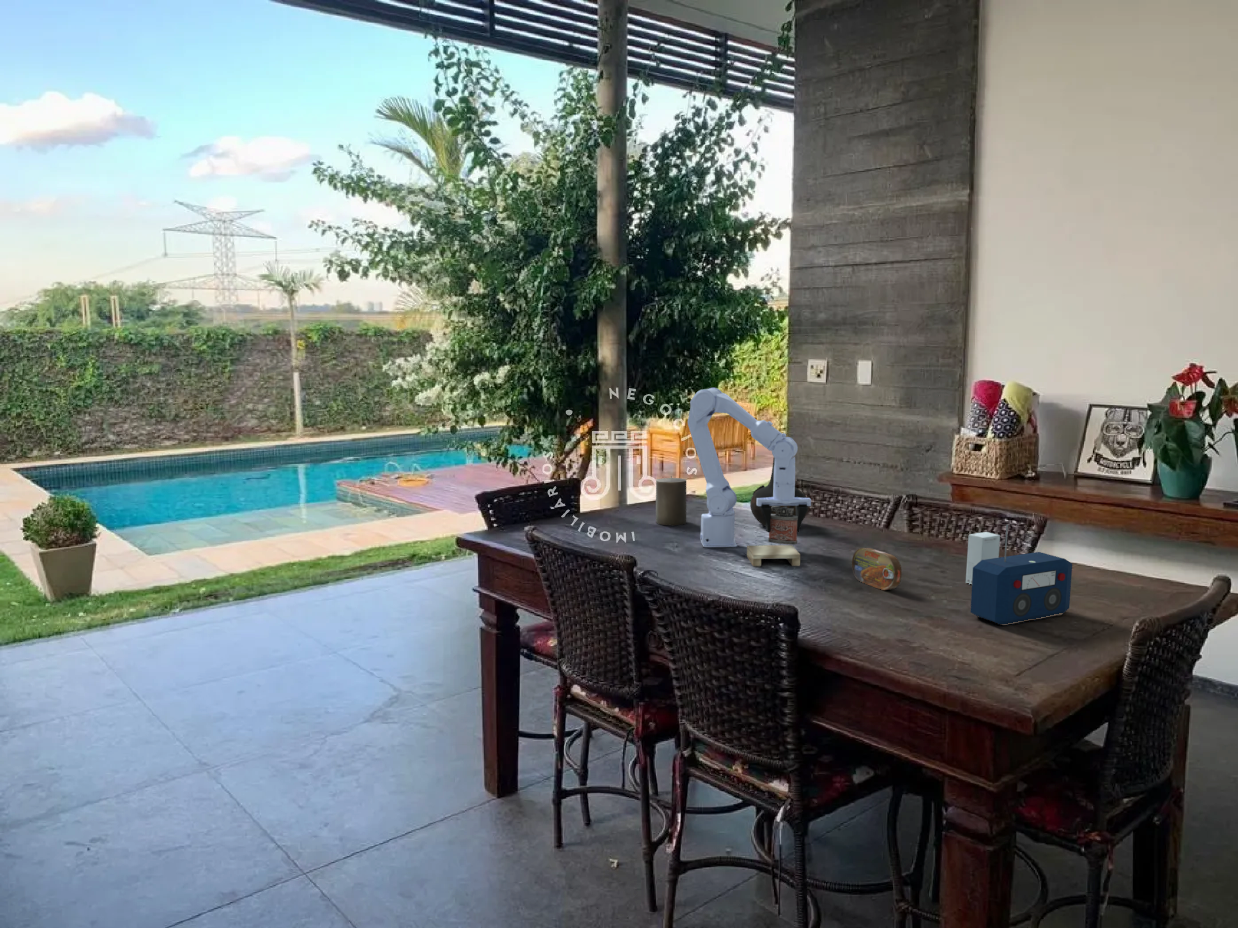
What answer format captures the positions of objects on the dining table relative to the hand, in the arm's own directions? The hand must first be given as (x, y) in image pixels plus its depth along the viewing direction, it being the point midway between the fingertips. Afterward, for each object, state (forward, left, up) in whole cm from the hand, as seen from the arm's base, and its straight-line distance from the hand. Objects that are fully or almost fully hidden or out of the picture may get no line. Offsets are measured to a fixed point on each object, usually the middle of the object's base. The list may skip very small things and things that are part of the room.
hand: (782, 531), depth 240 cm
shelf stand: (-5, -12, -5) cm, 14 cm away
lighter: (0, 0, -3) cm, 3 cm away
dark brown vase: (+5, +31, -5) cm, 32 cm away
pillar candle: (-28, +37, -5) cm, 47 cm away
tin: (+15, -35, -5) cm, 39 cm away
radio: (+38, -59, -5) cm, 70 cm away
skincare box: (+40, -35, -5) cm, 54 cm away
